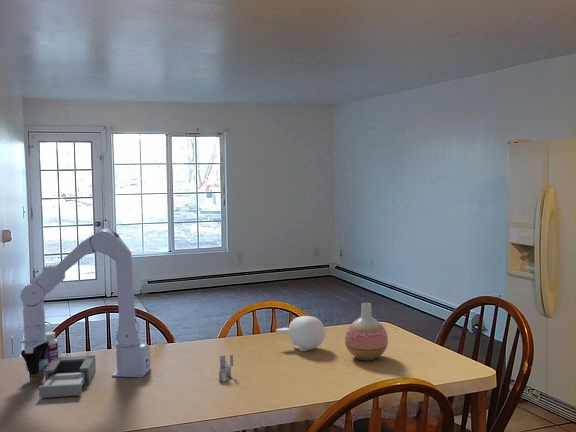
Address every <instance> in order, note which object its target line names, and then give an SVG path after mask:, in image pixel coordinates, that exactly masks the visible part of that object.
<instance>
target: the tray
mask: <svg viewBox="0 0 576 432" xmlns="http://www.w3.org/2000/svg"><path fill="white" fill-rule="evenodd" d="M85 379H86V372H79V373H62V374H51V376H50V377H49V379H48V380H47V381H46V382H45V383H44V384H43V385H38V398H39V399H42V398H43V399H46V398H55V397H57V398H59V397H72V396H74V397H75V396H82V395H83V394H82V393H83V389H82V388H83V386H84V385H83V383H84V381H85Z"/></svg>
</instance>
